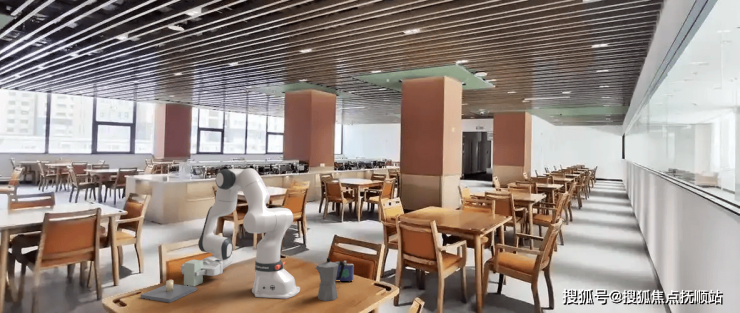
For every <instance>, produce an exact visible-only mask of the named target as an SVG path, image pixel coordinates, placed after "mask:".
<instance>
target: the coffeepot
mask: <svg viewBox="0 0 740 313" xmlns="http://www.w3.org/2000/svg"><path fill="white" fill-rule="evenodd" d="M339 265H341V269H340V273H339V277H337V271H338V266H339ZM344 266H345V264H344V261H342V260H339V261H335V262H334V261H331V258H330V257H327V258H326V261H323V262H320V263H318V265H316V266H315V268H314V269H315V270H317V272H318V273H319V280H320V283H319V288H318V293H317V299H318V300H320V301H323V302H331V301H334V300H337V298H339V297H338V292H337V291H338V290H337V284H336V283H337V282H336V277H337V279H341V276H342V273H343V270H344Z"/></svg>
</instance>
